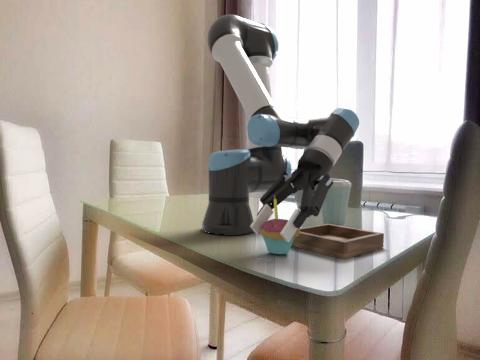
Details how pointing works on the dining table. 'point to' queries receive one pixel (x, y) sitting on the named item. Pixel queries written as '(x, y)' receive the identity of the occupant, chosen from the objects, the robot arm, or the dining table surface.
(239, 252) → the dining table surface
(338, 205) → the disposable coffee cup
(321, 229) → the wooden tray
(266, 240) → the cupcake
